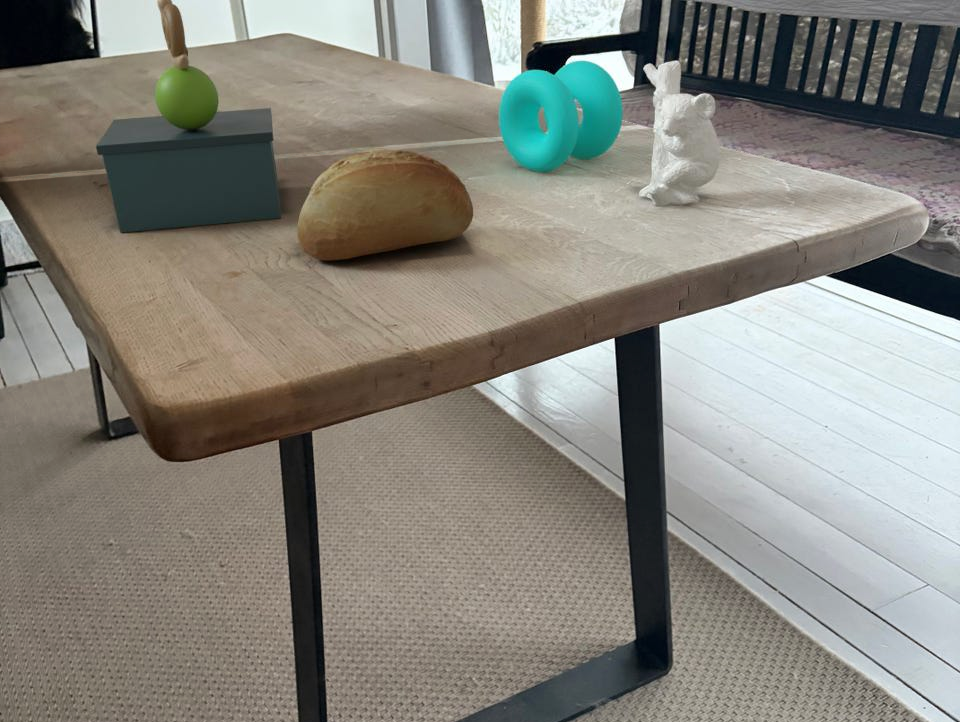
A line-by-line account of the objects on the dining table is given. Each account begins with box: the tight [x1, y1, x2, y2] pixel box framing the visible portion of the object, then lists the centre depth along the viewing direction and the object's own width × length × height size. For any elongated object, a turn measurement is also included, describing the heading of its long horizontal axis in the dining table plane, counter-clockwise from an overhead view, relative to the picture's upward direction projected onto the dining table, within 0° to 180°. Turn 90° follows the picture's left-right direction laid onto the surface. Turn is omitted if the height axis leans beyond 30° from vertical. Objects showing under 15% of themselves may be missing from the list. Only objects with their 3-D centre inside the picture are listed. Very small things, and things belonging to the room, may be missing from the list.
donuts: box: [498, 60, 624, 173], centre depth 100 cm, size 10×10×10 cm
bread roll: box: [296, 149, 474, 261], centre depth 77 cm, size 10×15×8 cm, turn 114°
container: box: [95, 107, 282, 234], centre depth 90 cm, size 15×12×8 cm
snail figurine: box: [154, 0, 219, 130], centre depth 84 cm, size 5×6×12 cm
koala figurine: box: [638, 60, 722, 207], centre depth 85 cm, size 8×7×12 cm
